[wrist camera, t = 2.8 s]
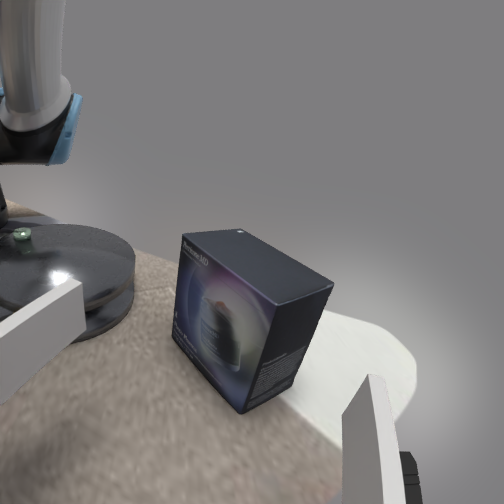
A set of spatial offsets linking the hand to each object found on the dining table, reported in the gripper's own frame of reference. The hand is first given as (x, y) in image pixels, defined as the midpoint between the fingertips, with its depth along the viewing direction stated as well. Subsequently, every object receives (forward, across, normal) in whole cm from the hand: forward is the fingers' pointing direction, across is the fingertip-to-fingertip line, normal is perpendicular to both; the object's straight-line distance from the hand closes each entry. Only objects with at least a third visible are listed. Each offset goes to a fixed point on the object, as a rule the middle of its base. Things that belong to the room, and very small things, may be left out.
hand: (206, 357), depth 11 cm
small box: (+10, 0, -10) cm, 14 cm away
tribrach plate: (+10, -20, -9) cm, 25 cm away
